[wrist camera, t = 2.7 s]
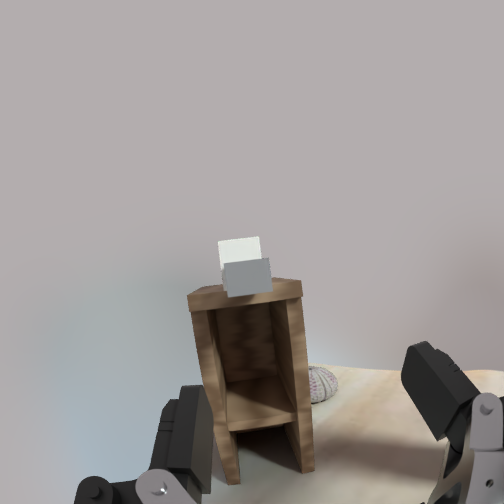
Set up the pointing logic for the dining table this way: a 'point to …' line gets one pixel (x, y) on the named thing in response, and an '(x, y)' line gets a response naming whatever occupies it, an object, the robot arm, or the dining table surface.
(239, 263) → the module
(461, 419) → the robot arm
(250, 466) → the dining table surface
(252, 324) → the shelf unit
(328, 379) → the sea urchin shell
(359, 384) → the dining table surface
